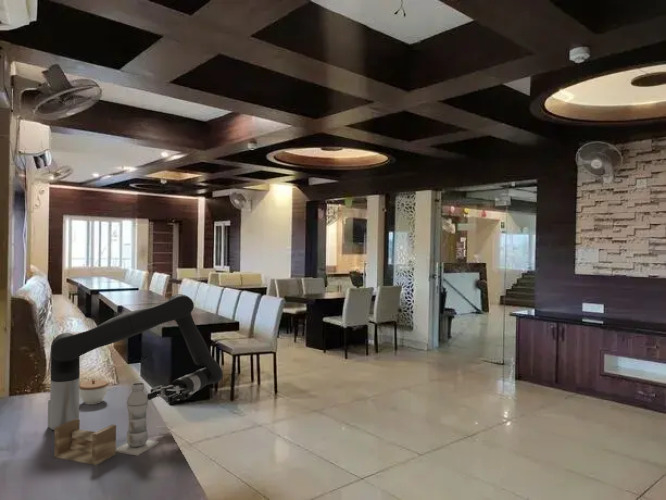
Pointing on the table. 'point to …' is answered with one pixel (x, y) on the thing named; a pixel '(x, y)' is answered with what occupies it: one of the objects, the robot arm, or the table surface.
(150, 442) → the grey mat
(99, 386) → the lidded jar
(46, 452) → the table surface
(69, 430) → the offcut rack
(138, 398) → the plastic bottle
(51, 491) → the table surface
